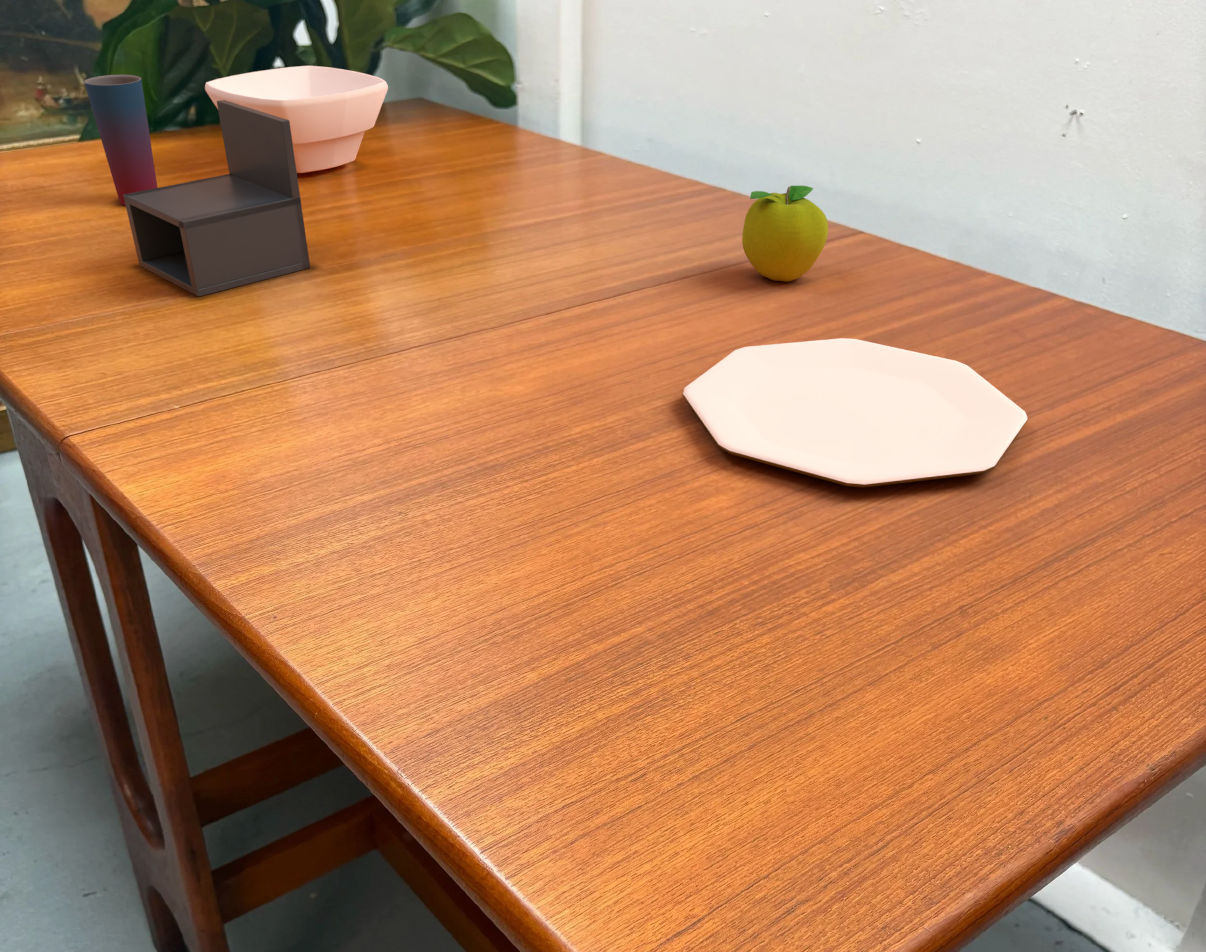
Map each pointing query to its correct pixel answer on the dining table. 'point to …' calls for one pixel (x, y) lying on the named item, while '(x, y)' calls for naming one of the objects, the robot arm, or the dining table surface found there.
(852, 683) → the dining table surface
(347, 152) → the bowl
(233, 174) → the dark grey toy chair
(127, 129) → the cup
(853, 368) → the plate
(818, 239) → the fruit
